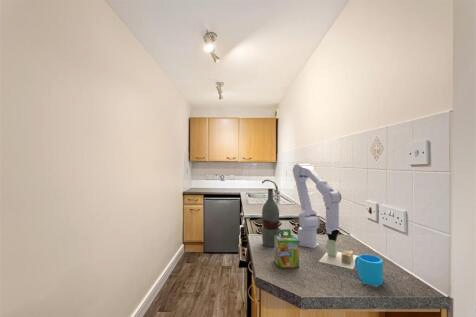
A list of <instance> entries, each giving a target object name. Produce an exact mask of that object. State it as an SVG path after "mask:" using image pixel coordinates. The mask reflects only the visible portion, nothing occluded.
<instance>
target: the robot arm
mask: <svg viewBox="0 0 476 317" xmlns="http://www.w3.org/2000/svg"><path fill="white" fill-rule="evenodd" d="M292 174H293V177H294V181H295V185H296V189H297V194H298V198H299V202H300V203H299V204H300V208H301V212H300V213H299V214H298V225H299V227H298V228H297V240H298V241H299V246H300V247H301V246H302V247H306V248H307V247H308V248H312V249H315V248H317V247H318V245H319V243H318V241H317V229H318V228H319V226H320V225H321V222H320V221H321V220H320V218H319V216H318V214H317V212H316V211H315V210H314V209H313V208H312V204H311V198H310V196H309V191H308V188H307V183H306V182H307V180H309V179H310V180H312V182H313V183H314V184H315V188H316V190H317V191H318V192H319V193H320V194H321V195H322V199H323V202H324V207H325V229H326V230H325V233H326V235H327V237H328V239H329V240H334V241H336V242H337V239H338V236H339V233H340V230H342V226H340V213H339V212H340V209H339V208H340V206H339V205H340V203H341V201H342V195H341V192H340V191H339V190H335V189H334V188H332V187H331V185H330V184H329V183H328V181H327V180H324V179H322V178H321V177H320V176H319V174H317V172H316V171H315V167H314V165H313V164H312V163H295V164H294V165H293V167H292Z"/></svg>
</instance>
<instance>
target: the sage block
mask: <svg viewBox="0 0 476 317" xmlns="http://www.w3.org/2000/svg"><path fill="white" fill-rule="evenodd" d="M326 240H327V241H326V243H325V248H326V252H327V254H328V256H332V257H336V255H337V252H338V247H337V240H336V241H334V240H329V238H328V239H326Z"/></svg>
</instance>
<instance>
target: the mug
mask: <svg viewBox="0 0 476 317" xmlns="http://www.w3.org/2000/svg"><path fill="white" fill-rule="evenodd" d="M357 256H358V257H356V259H355V268H356V270H357V271H358V278H359V280H360V281H361V283H364V284H366V285H369V286H376V287H377V286H382V285H383V283H384V261H383V260H384V259H382V258H381V257H380V256H377V255H373V254H359V255H357Z"/></svg>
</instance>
